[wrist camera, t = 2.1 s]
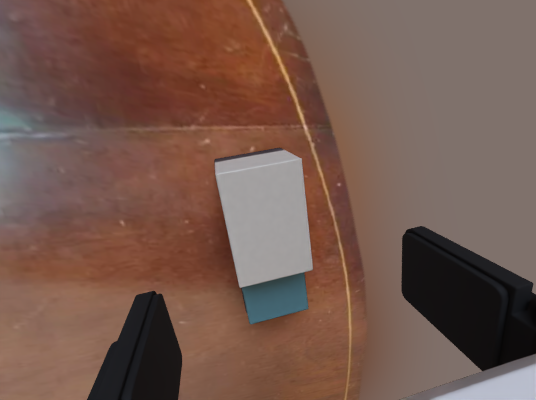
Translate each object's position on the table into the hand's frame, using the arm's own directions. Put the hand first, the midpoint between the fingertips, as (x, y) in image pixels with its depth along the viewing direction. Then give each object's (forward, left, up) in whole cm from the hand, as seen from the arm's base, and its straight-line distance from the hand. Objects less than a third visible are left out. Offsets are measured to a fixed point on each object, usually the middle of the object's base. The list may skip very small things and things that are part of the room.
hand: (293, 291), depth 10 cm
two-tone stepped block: (+2, +2, -10) cm, 10 cm away
